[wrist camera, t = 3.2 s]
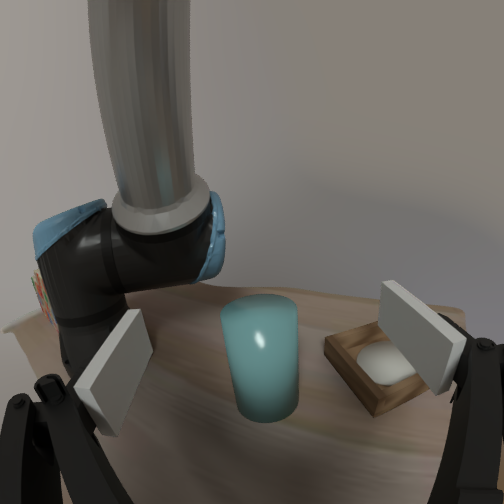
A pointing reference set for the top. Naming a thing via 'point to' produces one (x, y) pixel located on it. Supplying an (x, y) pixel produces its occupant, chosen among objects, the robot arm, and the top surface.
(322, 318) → the top surface
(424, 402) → the top surface
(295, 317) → the teal cylinder
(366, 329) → the walnut tray
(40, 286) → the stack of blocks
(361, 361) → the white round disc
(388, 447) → the top surface
